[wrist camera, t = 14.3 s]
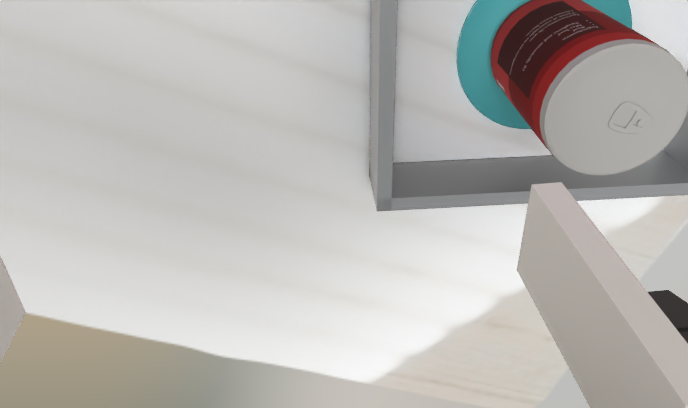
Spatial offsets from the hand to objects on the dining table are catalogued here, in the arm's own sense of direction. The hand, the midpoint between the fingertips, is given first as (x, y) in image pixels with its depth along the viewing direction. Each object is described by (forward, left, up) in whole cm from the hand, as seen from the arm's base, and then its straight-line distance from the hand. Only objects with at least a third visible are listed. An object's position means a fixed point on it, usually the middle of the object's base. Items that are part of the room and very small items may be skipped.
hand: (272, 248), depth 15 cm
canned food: (+17, -4, -27) cm, 32 cm away
